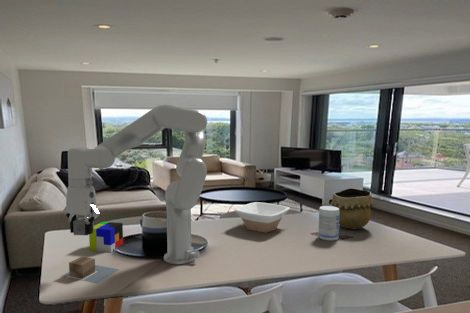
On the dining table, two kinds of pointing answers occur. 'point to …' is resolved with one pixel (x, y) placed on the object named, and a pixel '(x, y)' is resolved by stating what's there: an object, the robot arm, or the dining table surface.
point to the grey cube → (80, 226)
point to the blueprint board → (96, 274)
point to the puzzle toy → (106, 236)
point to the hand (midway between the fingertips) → (81, 232)
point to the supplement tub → (328, 223)
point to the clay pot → (353, 207)
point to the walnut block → (82, 267)
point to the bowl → (261, 216)
